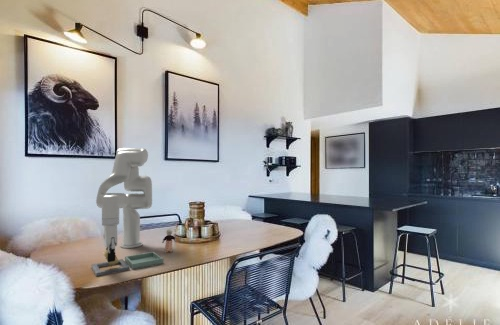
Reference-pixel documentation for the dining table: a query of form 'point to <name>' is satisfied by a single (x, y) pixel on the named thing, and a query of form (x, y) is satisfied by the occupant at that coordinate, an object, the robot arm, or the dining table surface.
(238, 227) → the dining table surface
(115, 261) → the brass peg
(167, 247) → the grandmother figurine
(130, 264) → the tray
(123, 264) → the collar block
